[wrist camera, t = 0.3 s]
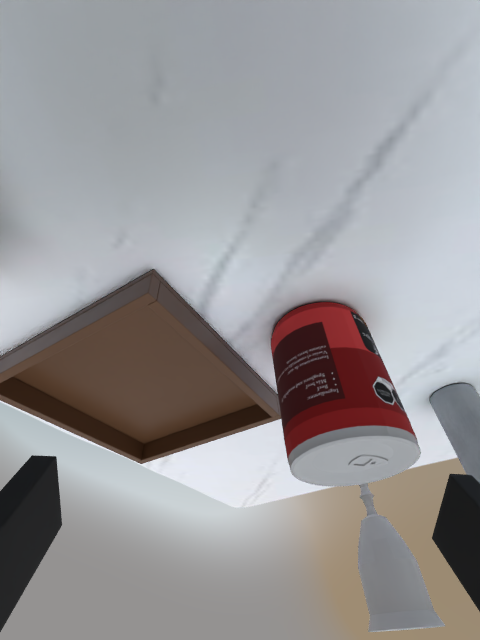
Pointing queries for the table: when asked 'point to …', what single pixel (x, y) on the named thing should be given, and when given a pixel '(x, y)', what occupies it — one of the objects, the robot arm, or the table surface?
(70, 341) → the tray
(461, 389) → the gray cylinder
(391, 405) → the canned food
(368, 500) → the chalice
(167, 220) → the table surface
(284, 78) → the table surface
